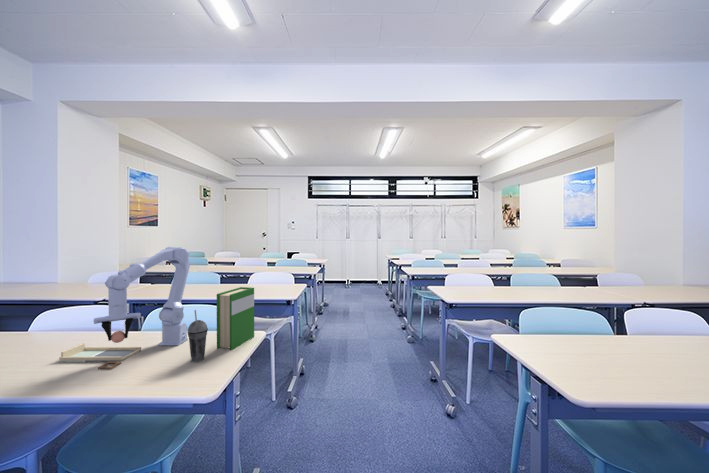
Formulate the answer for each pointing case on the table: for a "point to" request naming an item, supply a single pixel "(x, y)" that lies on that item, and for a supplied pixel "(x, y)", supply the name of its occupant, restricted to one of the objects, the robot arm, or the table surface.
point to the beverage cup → (197, 339)
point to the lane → (97, 354)
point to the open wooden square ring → (105, 366)
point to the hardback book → (235, 317)
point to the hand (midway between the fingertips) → (118, 338)
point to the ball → (118, 336)
